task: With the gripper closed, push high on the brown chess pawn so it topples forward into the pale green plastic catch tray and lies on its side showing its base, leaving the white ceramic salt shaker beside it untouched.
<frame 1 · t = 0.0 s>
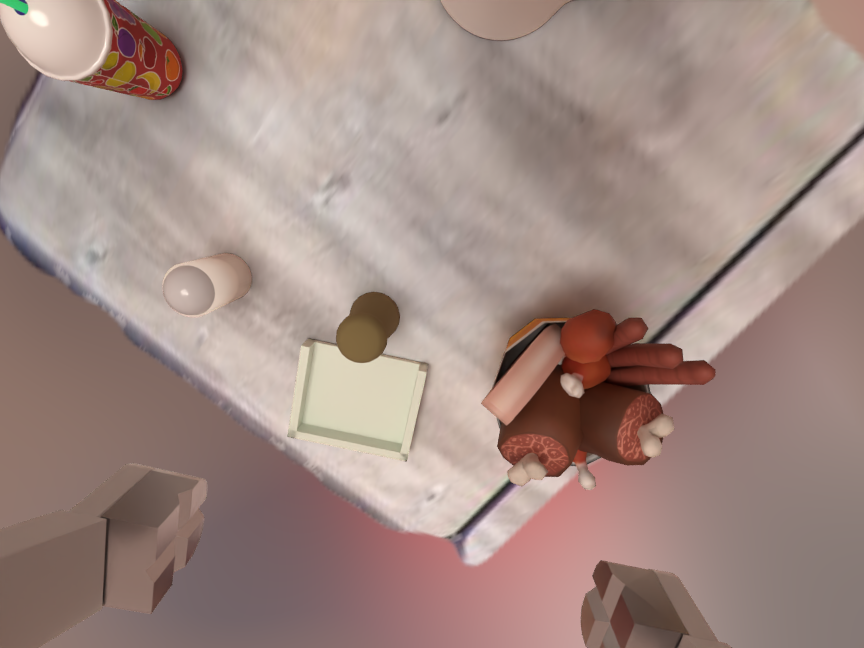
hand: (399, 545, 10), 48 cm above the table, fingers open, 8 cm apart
smoothie: (158, 68, 52), on the table
catch tray: (359, 395, 61), on the table
bucket of meat: (552, 358, 59), on the table
salt shaker: (228, 276, 58), on the table
brown chess pawn: (375, 316, 58), on the table
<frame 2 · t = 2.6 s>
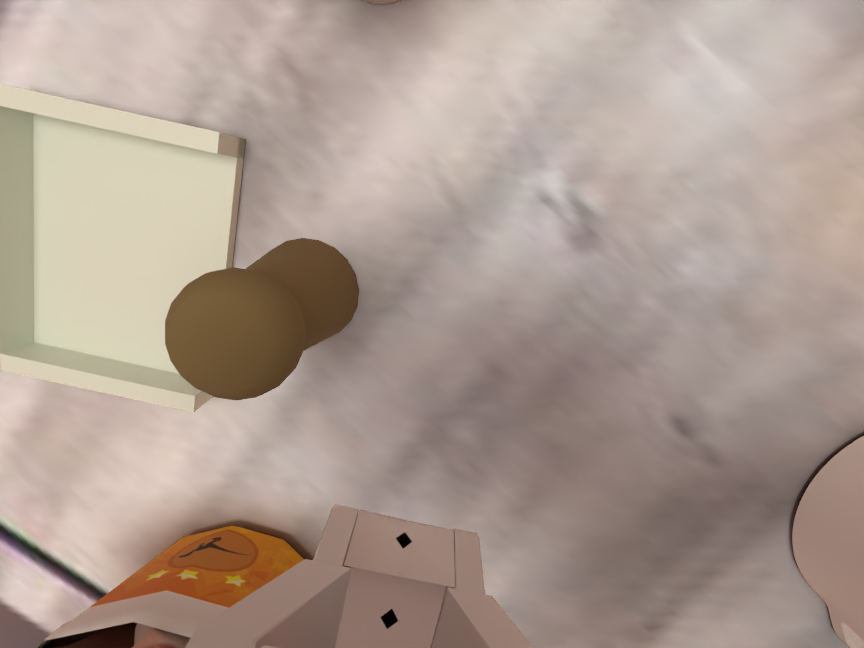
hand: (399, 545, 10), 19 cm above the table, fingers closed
catch tray: (130, 251, 28), on the table
bucket of meat: (255, 592, 34), on the table
brown chess pawn: (308, 290, 28), on the table
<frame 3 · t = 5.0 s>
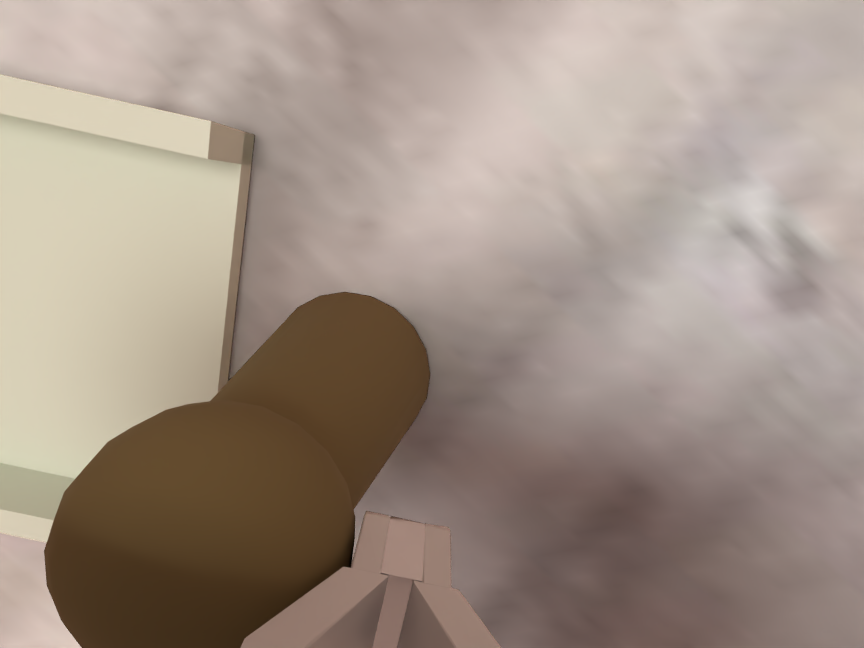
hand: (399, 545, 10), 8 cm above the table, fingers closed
catch tray: (72, 311, 18), on the table
brown chess pawn: (350, 370, 18), on the table, touching gripper
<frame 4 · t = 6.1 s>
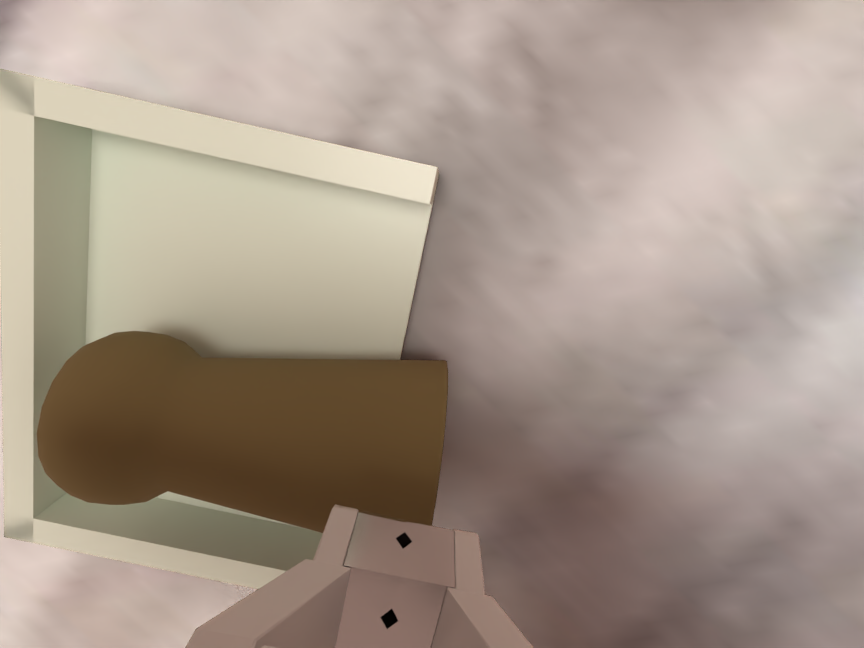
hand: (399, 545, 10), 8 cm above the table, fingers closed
catch tray: (236, 345, 18), on the table
brown chess pawn: (438, 455, 15), point 3 cm above the table, touching catch tray
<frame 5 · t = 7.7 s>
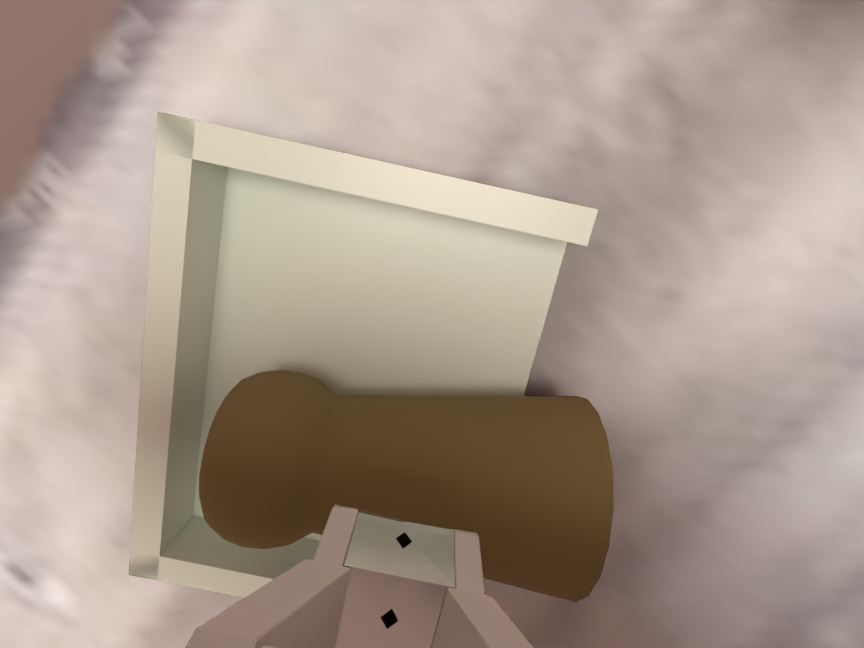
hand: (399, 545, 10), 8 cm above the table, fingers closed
catch tray: (353, 378, 18), on the table
brown chess pawn: (576, 492, 15), point 3 cm above the table, touching catch tray
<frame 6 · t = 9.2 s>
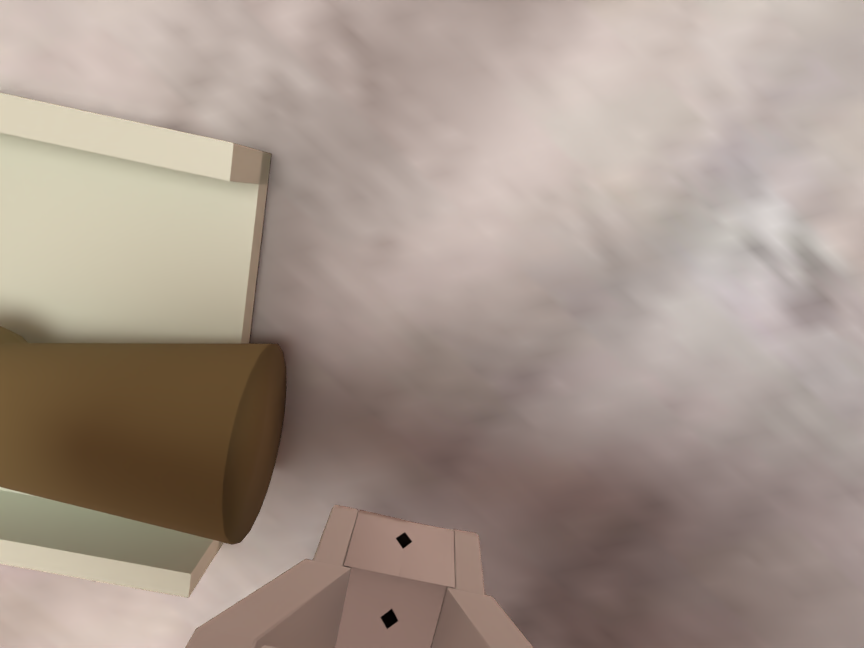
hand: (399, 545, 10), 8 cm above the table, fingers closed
catch tray: (81, 333, 17), on the table
brown chess pawn: (266, 439, 15), point 3 cm above the table, touching catch tray
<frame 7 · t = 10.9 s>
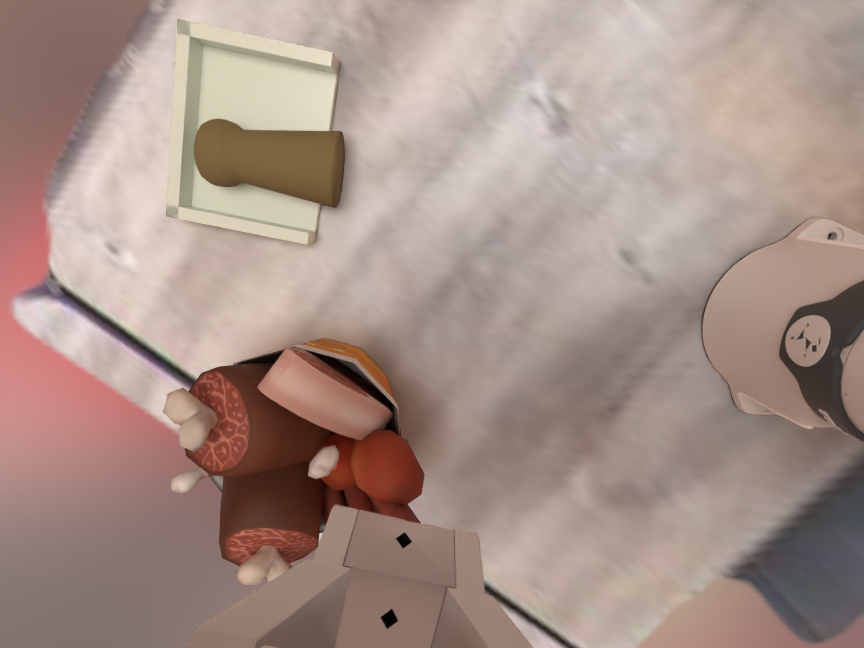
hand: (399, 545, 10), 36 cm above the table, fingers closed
catch tray: (259, 142, 42), on the table
bucket of meat: (335, 397, 48), on the table
brown chess pawn: (340, 170, 39), point 3 cm above the table, touching catch tray
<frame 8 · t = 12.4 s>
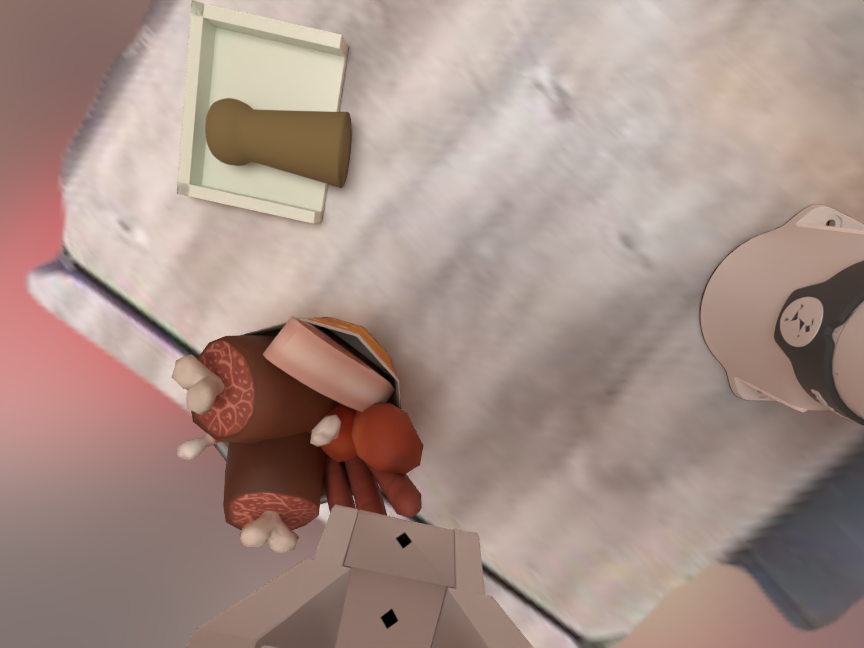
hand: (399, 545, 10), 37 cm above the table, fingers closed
catch tray: (268, 123, 43), on the table
bucket of meat: (338, 375, 49), on the table
brown chess pawn: (347, 151, 40), point 3 cm above the table, touching catch tray
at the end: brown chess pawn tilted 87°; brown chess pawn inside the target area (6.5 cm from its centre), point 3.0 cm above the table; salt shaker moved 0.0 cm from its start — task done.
